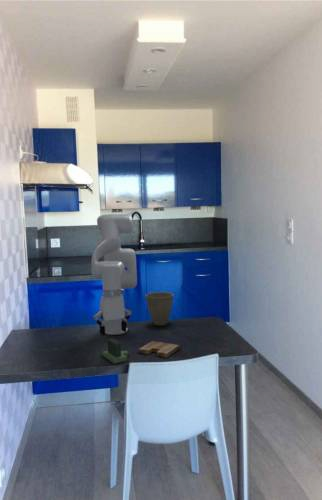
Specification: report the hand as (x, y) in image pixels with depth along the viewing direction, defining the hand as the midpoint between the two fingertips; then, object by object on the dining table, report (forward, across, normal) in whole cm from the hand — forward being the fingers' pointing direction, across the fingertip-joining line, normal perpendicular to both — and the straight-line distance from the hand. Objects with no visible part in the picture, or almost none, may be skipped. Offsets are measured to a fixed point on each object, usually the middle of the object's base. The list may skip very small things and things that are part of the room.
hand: (113, 332), depth 191 cm
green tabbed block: (+11, -2, -1) cm, 11 cm away
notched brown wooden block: (+11, -21, +3) cm, 24 cm away
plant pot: (+10, -43, -34) cm, 56 cm away
